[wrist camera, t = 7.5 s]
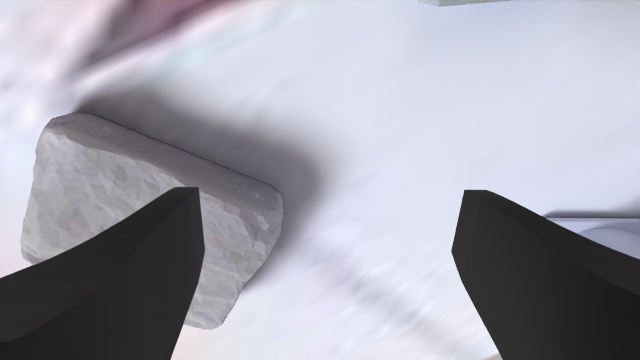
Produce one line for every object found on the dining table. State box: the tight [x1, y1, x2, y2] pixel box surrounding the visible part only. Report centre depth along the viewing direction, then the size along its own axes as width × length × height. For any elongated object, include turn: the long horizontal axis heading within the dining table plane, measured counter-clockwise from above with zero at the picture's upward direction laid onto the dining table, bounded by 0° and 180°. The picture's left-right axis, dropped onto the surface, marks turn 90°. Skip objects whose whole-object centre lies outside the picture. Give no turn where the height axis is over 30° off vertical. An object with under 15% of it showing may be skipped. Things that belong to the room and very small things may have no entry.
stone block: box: [20, 113, 284, 330], centre depth 22 cm, size 12×5×10 cm
